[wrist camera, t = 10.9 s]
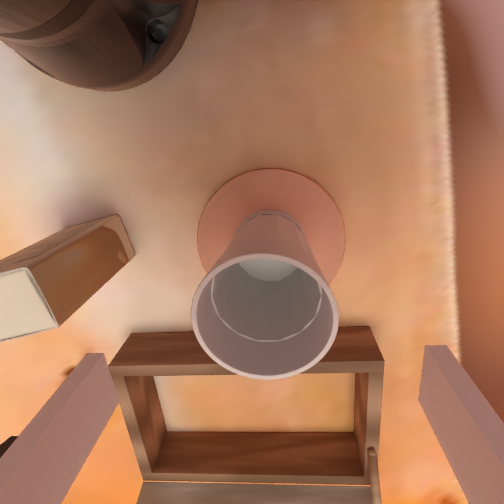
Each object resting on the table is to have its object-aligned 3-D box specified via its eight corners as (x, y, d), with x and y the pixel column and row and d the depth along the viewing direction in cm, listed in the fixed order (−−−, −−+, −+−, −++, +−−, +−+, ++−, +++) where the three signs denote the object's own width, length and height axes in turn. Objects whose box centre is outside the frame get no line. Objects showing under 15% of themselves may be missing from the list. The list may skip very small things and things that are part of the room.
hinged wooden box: (131, 333, 35) (-40, 573, 16) (369, 326, 32) (490, 603, 13) (164, 459, 41) (71, 729, 23) (363, 461, 39) (438, 769, 20)
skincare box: (81, 269, 32) (-27, 349, 21) (60, 228, 31) (-68, 290, 19) (140, 255, 31) (59, 331, 20) (121, 212, 30) (23, 267, 18)
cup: (265, 180, 27) (255, 221, 16) (335, 241, 28) (371, 319, 17) (207, 247, 29) (162, 324, 18) (273, 300, 31) (269, 401, 20)
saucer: (188, 175, 28) (186, 176, 27) (344, 161, 26) (346, 163, 26) (209, 307, 33) (208, 311, 32) (343, 302, 31) (344, 306, 30)
